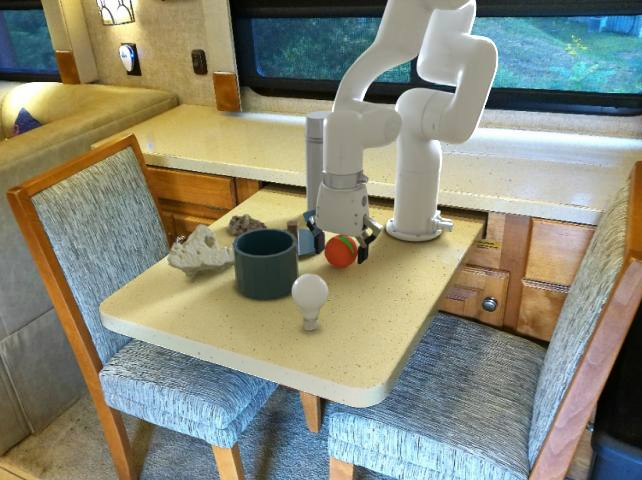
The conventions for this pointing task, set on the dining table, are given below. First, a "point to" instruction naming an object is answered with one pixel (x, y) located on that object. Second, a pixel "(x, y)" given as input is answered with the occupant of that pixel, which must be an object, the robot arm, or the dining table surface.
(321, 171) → the water bottle
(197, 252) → the white coral rock
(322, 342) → the dining table surface
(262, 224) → the mineral rock
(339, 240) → the clementine
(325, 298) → the lightbulb
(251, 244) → the jar
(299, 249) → the jar lid
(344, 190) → the robot arm
